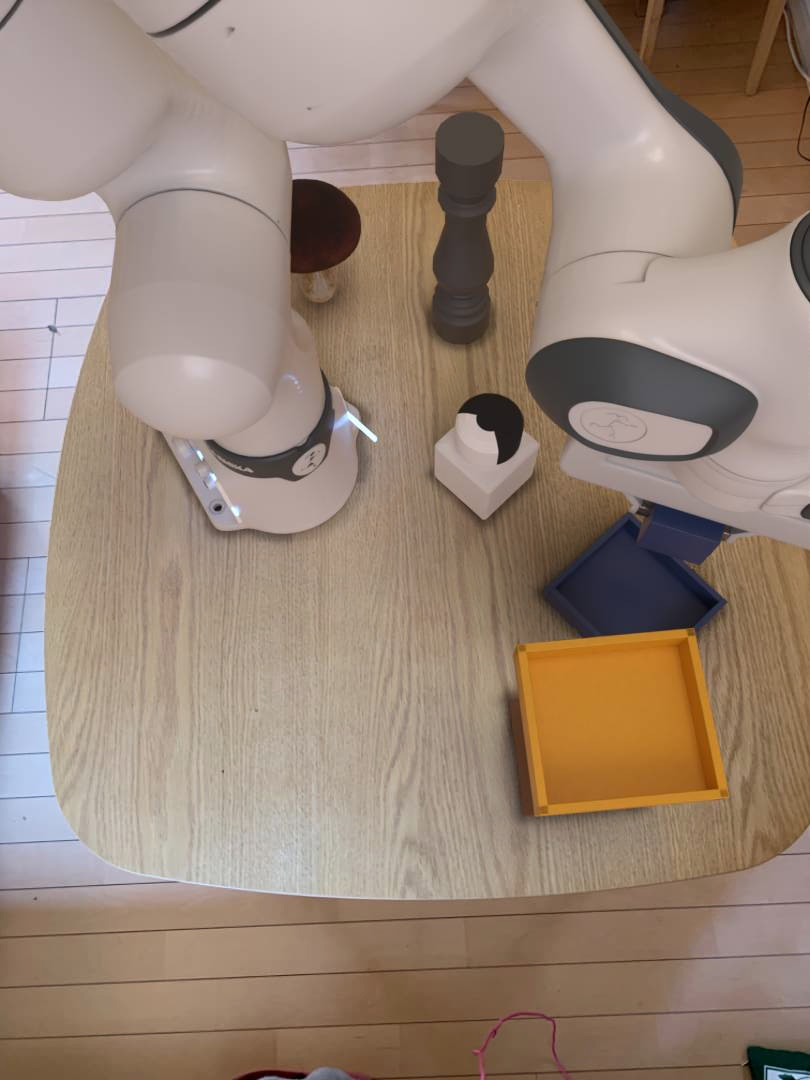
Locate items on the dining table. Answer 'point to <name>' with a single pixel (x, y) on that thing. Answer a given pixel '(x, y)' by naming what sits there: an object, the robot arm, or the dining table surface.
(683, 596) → the navy tray
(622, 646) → the ochre tray
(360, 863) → the dining table surface
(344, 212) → the decorative mushroom
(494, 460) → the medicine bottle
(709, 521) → the navy block
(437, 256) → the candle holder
